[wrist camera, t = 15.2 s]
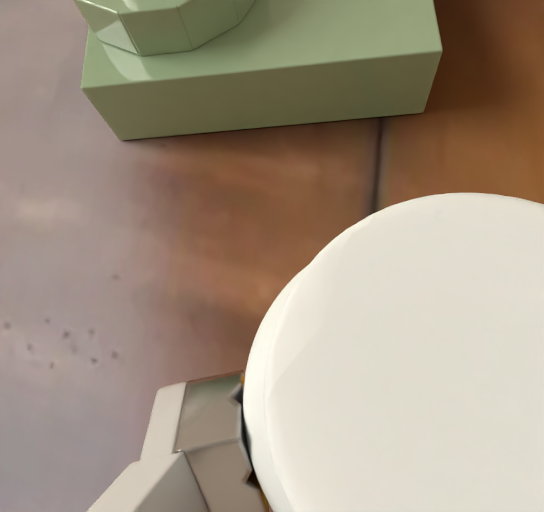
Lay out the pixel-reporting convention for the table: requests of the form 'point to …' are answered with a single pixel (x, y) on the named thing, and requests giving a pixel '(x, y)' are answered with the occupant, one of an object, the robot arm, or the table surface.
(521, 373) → the supplement bottle
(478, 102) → the table surface
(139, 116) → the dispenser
